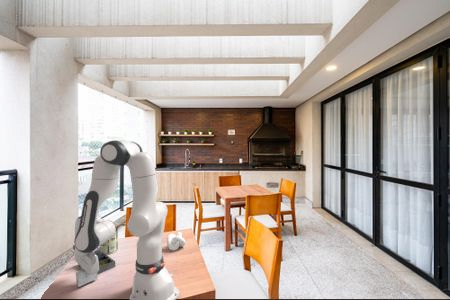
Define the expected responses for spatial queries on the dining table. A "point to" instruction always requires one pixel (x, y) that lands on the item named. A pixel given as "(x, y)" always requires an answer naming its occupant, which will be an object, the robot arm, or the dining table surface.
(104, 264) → the rack
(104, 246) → the coffee can
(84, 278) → the grey rectangular block
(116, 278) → the dining table surface
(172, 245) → the white lumpy piece
